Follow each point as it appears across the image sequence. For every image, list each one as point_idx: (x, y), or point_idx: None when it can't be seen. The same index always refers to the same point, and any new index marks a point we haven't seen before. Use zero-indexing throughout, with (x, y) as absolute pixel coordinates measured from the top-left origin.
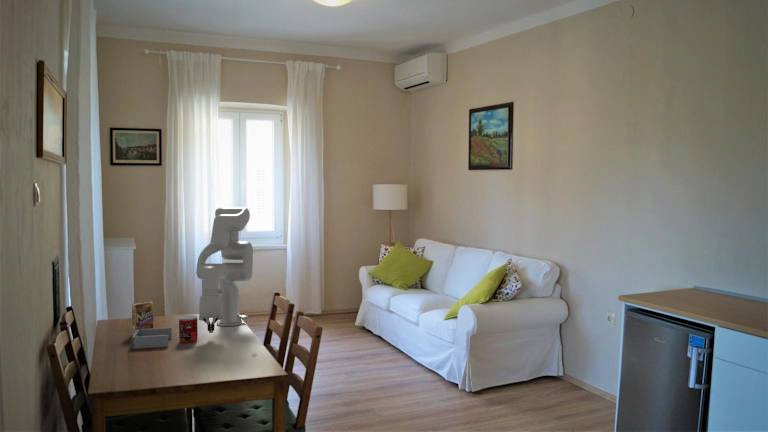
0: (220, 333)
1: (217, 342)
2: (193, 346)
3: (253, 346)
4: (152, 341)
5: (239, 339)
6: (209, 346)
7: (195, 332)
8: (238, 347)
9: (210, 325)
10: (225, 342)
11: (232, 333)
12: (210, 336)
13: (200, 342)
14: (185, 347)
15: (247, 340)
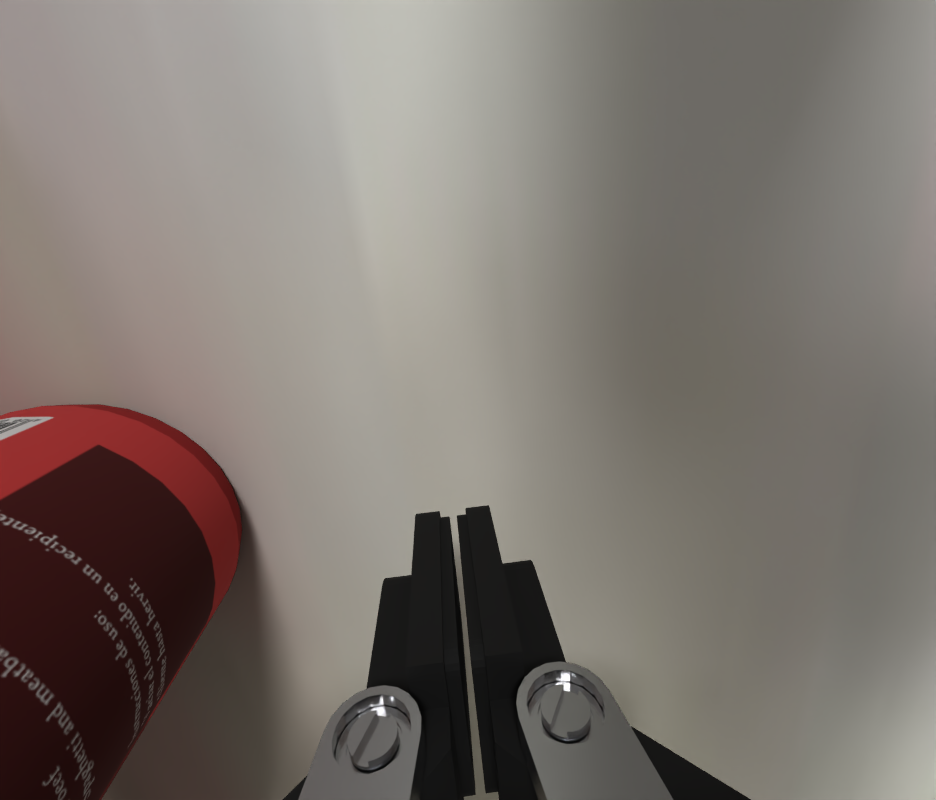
0: (577, 49)
1: (553, 622)
2: (284, 748)
3: (910, 773)
4: None
5: (837, 518)
6: (474, 756)
7: (162, 697)
8: (768, 794)
9: (471, 781)
10: (651, 630)
11: (802, 104)
12: (409, 277)
13: (325, 604)
14: (198, 776)
15: (918, 573)
